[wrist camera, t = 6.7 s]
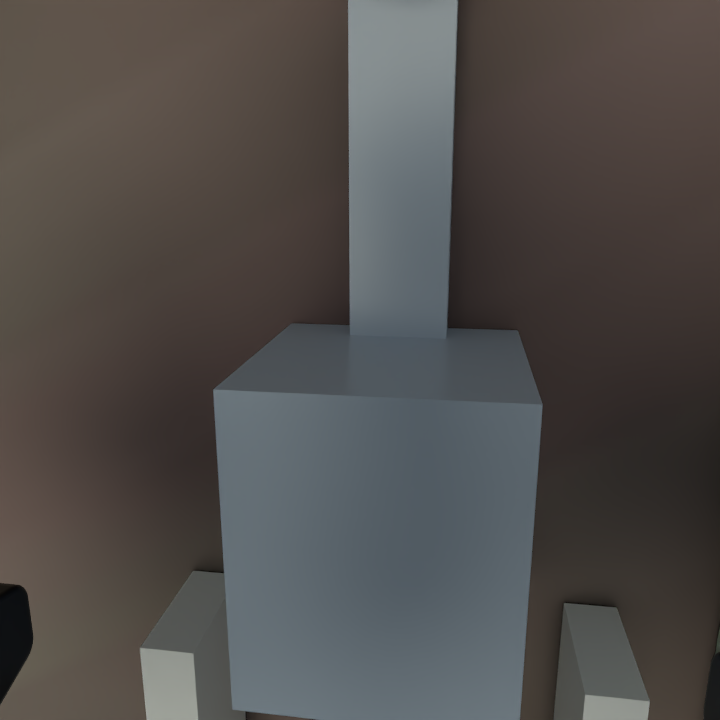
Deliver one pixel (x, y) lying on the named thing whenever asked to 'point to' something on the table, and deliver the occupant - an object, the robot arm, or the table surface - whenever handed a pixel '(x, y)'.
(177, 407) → the table surface
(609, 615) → the frame
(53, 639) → the table surface
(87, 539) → the table surface
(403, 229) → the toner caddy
